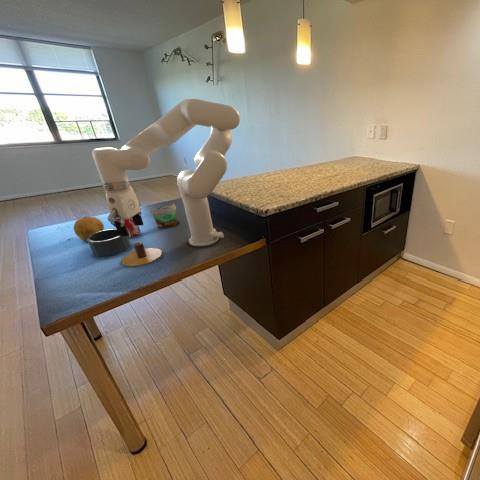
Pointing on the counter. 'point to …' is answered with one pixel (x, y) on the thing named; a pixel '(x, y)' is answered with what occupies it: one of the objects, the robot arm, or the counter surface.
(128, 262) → the lid
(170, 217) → the food container
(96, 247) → the tin
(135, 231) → the soda can
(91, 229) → the potato
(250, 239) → the counter surface
